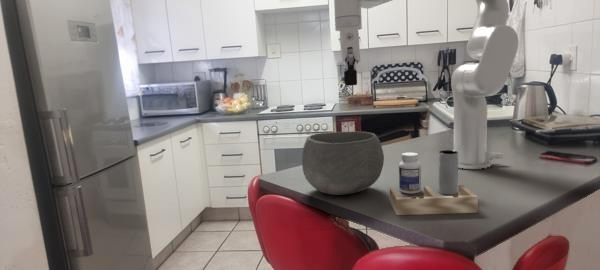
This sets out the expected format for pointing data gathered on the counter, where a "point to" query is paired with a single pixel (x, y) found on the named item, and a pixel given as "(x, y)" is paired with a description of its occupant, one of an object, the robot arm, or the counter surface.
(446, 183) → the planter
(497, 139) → the counter surface
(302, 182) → the counter surface
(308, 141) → the bowl
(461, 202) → the slot rack
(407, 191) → the pill bottle
